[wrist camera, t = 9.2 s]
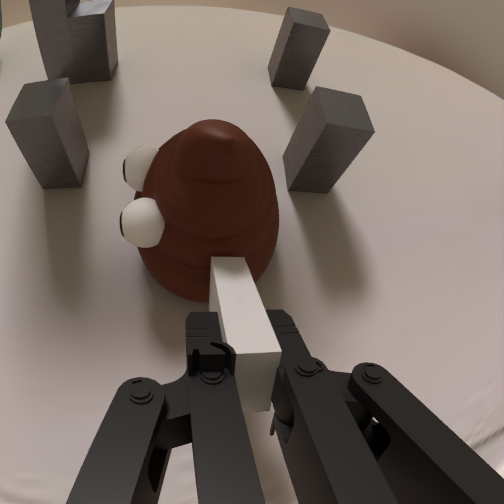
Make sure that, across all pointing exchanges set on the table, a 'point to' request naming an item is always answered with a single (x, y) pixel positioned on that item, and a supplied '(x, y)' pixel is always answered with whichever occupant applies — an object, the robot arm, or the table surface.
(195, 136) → the poop emoji
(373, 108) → the table surface
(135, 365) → the table surface
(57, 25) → the sight ring stand
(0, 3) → the flower pot
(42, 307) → the table surface
